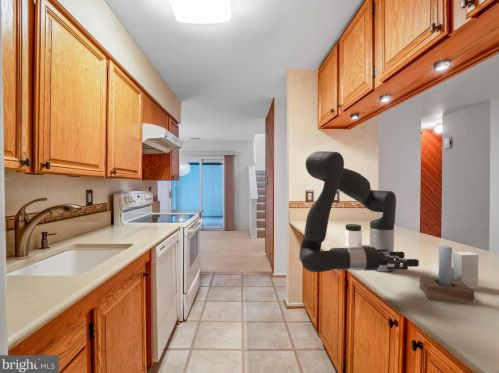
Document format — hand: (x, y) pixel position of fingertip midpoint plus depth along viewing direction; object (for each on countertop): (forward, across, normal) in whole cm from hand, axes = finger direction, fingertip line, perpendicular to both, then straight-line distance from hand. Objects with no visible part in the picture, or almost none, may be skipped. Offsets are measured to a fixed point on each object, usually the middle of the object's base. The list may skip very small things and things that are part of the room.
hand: (410, 258), depth 90 cm
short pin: (+17, +7, +12) cm, 22 cm away
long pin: (+11, 0, +12) cm, 16 cm away
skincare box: (+23, +7, +12) cm, 27 cm away
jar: (+3, +63, +12) cm, 65 cm away
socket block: (+11, 0, +12) cm, 16 cm away
